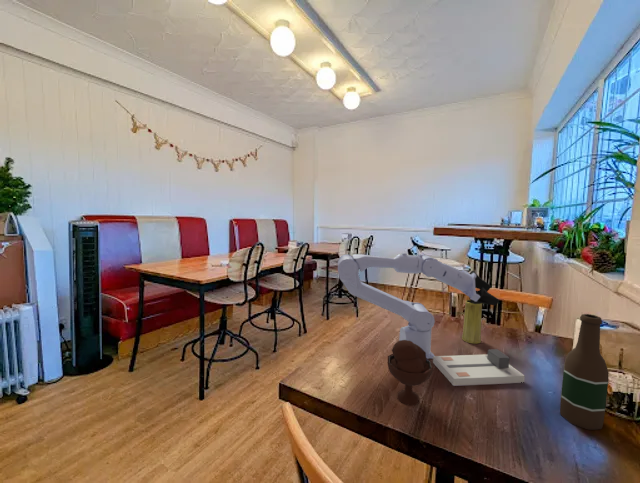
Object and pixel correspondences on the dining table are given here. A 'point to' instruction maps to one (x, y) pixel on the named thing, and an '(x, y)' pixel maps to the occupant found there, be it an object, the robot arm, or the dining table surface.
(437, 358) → the fader panel
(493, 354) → the fader knob
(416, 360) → the ice cream bowl
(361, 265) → the robot arm
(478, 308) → the vase
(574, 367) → the beer bottle
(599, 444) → the dining table surface
